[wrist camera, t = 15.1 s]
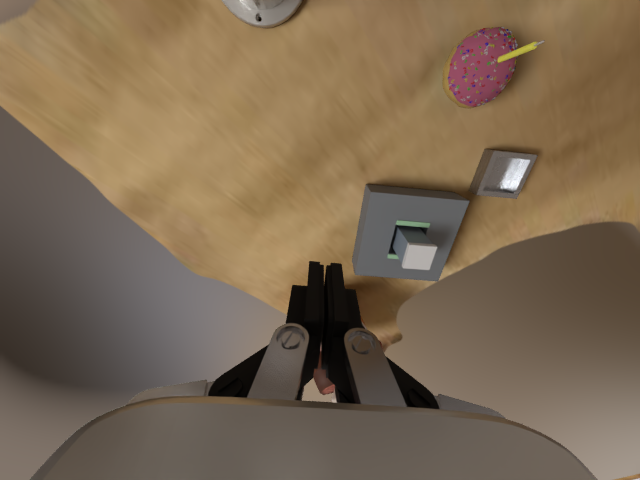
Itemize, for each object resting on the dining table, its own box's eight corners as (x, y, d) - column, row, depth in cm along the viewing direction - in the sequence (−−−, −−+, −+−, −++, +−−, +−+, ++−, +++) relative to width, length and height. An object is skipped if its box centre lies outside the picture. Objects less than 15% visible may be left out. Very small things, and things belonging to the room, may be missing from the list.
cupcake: (478, 21, 32) (555, -26, 21) (501, 79, 35) (579, 64, 24) (420, 70, 35) (464, 50, 24) (446, 121, 38) (496, 123, 27)
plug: (392, 220, 44) (409, 244, 36) (415, 221, 44) (437, 247, 36) (388, 240, 46) (403, 268, 38) (409, 241, 46) (429, 270, 38)
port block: (365, 184, 42) (371, 192, 38) (454, 192, 43) (470, 201, 38) (352, 260, 50) (355, 275, 45) (427, 266, 50) (438, 282, 46)
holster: (484, 148, 39) (494, 150, 37) (526, 153, 40) (537, 155, 38) (468, 191, 43) (476, 194, 41) (507, 194, 43) (516, 198, 41)
